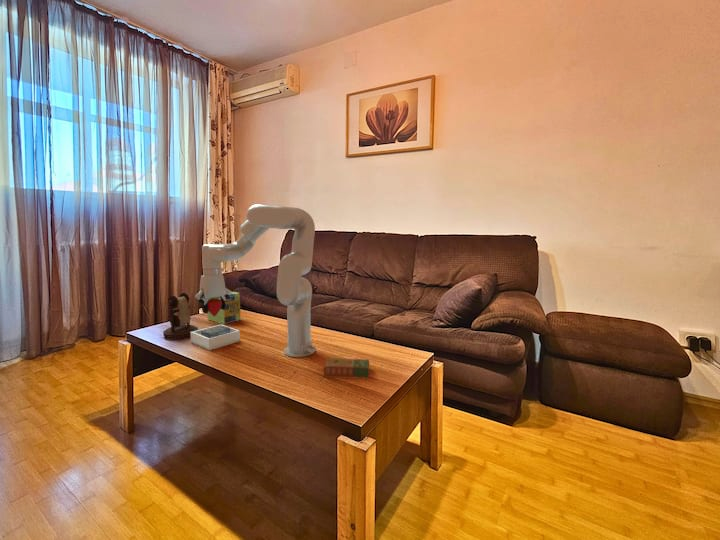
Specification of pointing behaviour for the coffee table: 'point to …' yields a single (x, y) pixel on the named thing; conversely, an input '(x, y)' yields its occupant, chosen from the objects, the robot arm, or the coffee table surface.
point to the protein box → (228, 310)
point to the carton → (346, 368)
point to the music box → (180, 323)
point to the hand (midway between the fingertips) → (214, 310)
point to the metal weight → (215, 331)
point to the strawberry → (214, 305)
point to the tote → (215, 339)
